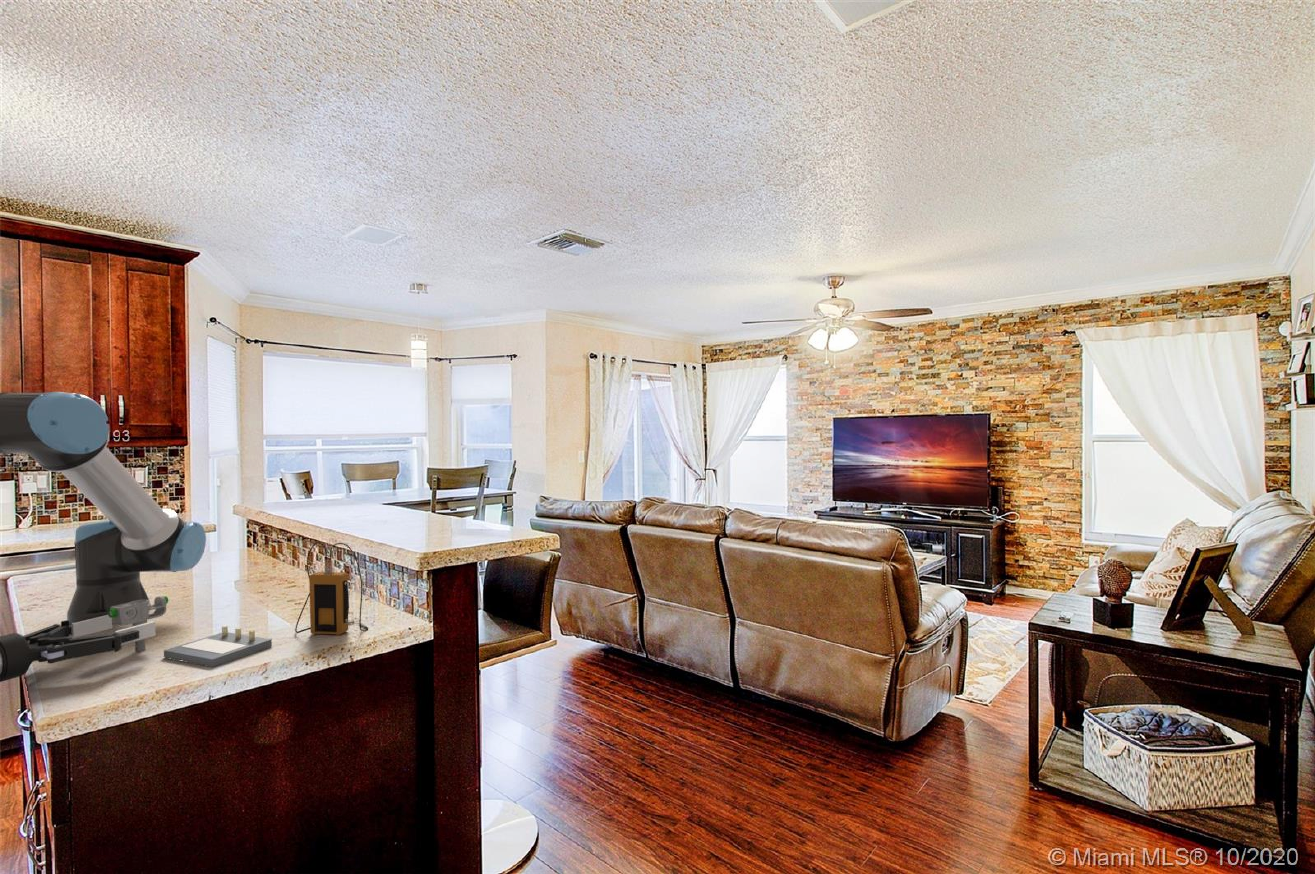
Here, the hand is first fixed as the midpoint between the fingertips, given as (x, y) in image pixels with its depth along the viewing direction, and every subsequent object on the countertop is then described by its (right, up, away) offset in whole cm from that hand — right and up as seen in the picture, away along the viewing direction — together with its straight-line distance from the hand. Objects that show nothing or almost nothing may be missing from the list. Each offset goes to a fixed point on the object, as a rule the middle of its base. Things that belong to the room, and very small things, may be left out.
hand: (132, 624), depth 129 cm
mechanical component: (0, -6, +2) cm, 6 cm away
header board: (+17, -6, 0) cm, 18 cm away
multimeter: (+34, -5, +15) cm, 37 cm away
